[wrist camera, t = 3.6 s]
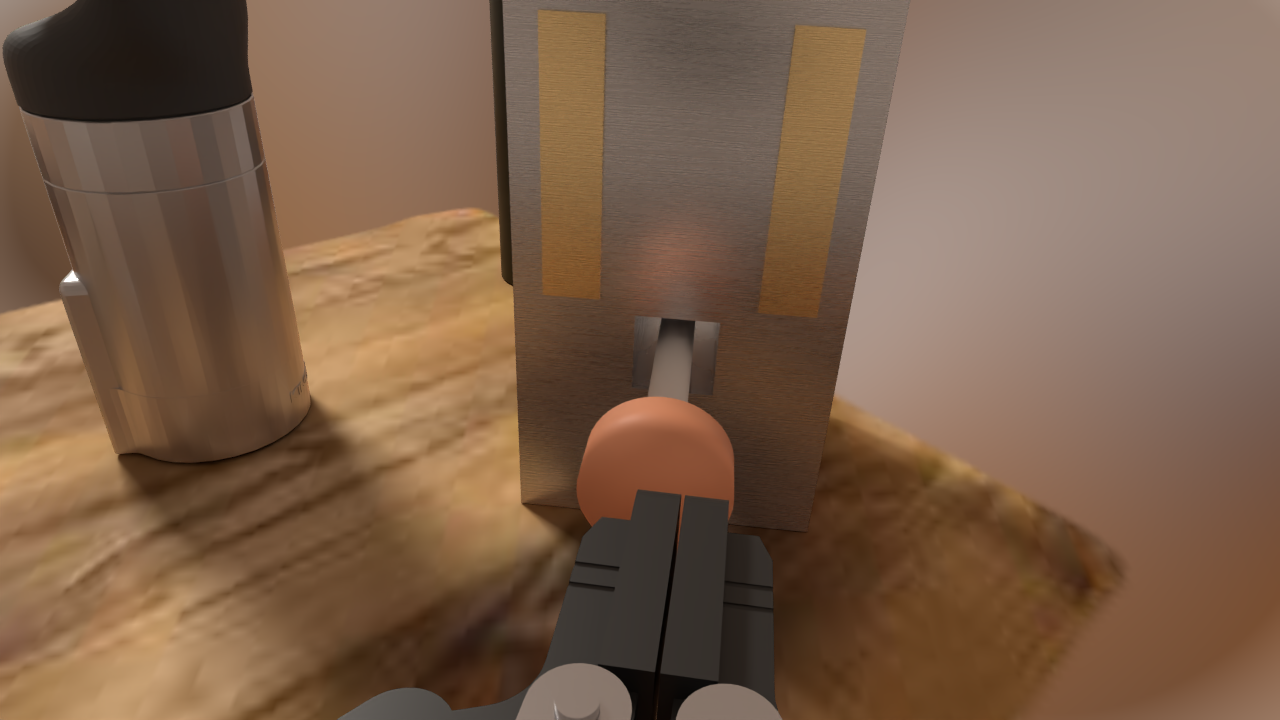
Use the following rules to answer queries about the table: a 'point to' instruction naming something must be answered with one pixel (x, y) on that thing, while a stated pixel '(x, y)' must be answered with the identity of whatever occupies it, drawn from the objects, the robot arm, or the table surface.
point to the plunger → (657, 440)
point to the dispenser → (691, 219)
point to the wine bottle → (501, 136)
